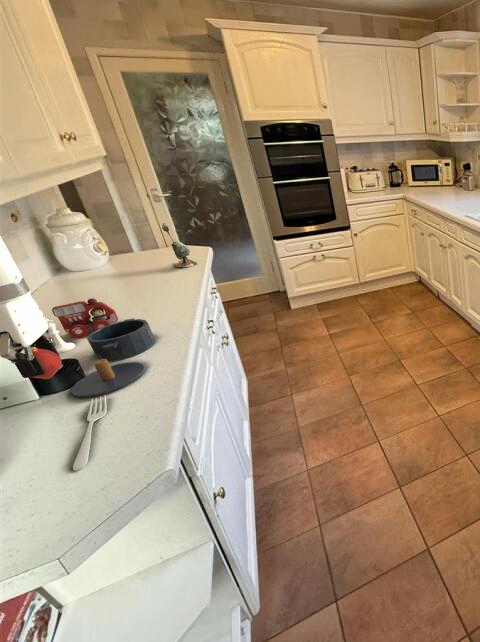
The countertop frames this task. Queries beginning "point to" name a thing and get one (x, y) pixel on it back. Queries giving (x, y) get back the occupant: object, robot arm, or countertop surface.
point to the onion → (47, 362)
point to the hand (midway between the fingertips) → (42, 366)
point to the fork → (88, 435)
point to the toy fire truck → (84, 317)
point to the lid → (107, 378)
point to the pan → (122, 339)
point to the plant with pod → (180, 251)
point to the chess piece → (59, 339)
